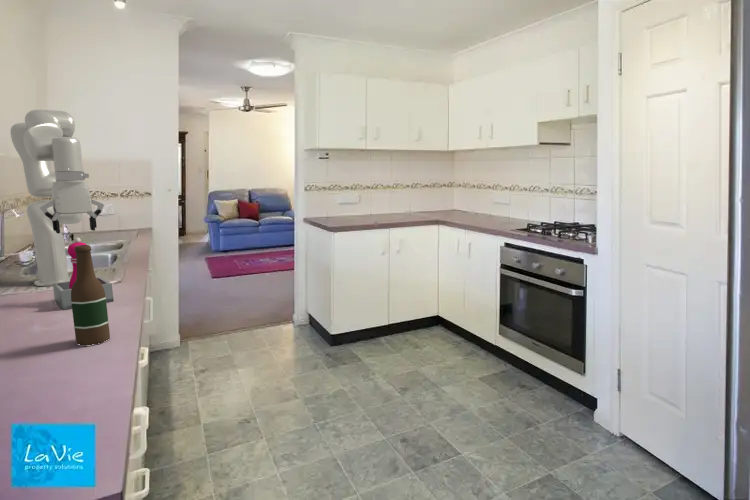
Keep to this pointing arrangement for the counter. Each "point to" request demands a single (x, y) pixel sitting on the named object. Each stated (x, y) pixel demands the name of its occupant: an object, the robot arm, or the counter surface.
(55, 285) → the bin
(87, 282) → the beer bottle
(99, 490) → the counter surface
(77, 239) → the pepper mill
